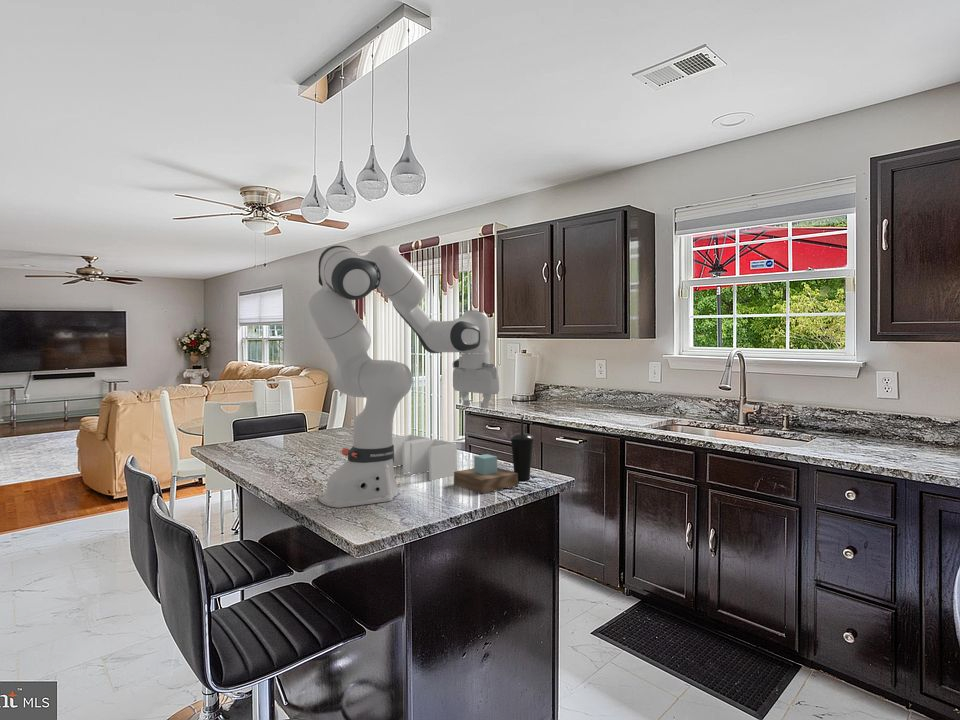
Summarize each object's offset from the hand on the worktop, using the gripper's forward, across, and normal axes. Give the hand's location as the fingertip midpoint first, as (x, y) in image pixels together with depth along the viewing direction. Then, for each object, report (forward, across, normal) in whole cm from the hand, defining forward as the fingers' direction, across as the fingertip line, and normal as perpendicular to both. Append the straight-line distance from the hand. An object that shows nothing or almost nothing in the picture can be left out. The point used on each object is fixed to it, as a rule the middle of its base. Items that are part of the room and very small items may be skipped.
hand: (475, 407), depth 174 cm
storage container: (+24, +23, +6) cm, 34 cm away
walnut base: (+24, -5, -1) cm, 24 cm away
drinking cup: (+24, -5, -15) cm, 29 cm away
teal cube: (+20, -5, -1) cm, 20 cm away
